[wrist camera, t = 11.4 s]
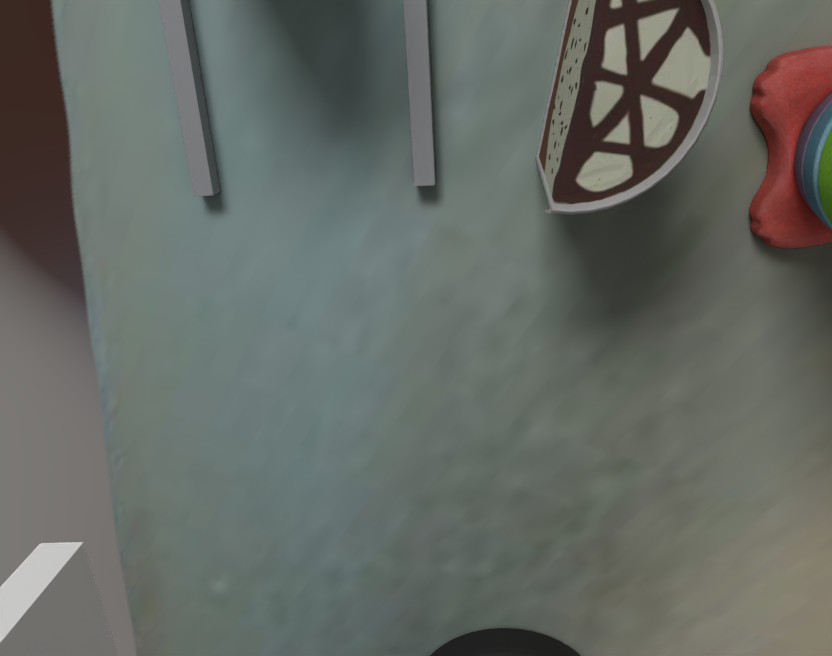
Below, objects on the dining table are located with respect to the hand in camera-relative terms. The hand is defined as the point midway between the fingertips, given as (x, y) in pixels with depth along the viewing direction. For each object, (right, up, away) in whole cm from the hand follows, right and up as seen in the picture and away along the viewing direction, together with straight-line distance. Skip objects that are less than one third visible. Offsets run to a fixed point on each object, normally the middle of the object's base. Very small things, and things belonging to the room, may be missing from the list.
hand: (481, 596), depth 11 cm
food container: (+10, +18, +26) cm, 33 cm away
